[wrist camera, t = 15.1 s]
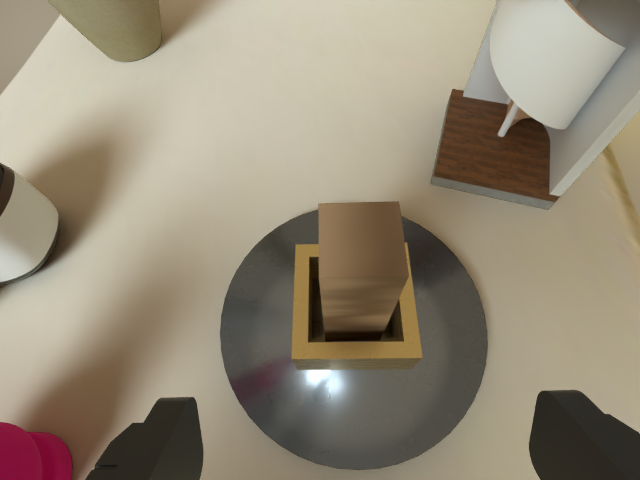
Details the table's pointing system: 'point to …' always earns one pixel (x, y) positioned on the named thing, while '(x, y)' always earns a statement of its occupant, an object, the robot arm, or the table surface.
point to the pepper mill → (32, 455)
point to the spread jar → (24, 227)
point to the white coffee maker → (541, 98)
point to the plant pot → (116, 25)
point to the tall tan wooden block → (360, 268)
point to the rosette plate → (352, 353)
